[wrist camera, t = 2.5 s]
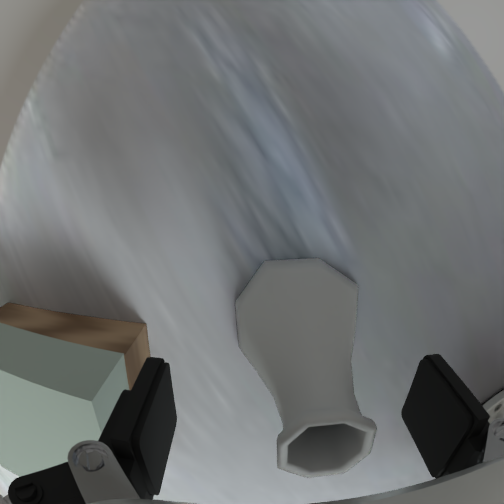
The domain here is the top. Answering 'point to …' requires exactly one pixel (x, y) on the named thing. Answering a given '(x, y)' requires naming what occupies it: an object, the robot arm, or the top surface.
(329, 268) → the flask
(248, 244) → the top surface
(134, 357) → the tower base block
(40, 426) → the tower top block
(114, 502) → the robot arm
